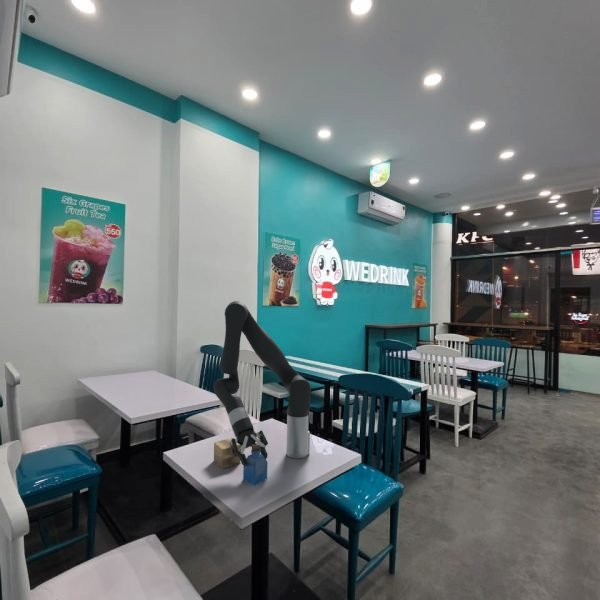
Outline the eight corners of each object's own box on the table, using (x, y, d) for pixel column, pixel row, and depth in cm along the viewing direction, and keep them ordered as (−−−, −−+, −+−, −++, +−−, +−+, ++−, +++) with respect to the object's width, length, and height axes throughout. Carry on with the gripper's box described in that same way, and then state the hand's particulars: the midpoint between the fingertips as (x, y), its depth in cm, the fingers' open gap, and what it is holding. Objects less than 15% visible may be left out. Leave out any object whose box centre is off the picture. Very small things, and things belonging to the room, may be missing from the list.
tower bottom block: (231, 456, 142) (232, 447, 142) (240, 464, 136) (240, 454, 136) (213, 461, 137) (214, 451, 138) (221, 469, 131) (221, 459, 131)
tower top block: (232, 447, 142) (232, 437, 142) (240, 454, 136) (240, 444, 136) (213, 452, 137) (214, 442, 137) (221, 459, 131) (221, 449, 131)
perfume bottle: (255, 473, 128) (256, 441, 128) (267, 478, 124) (267, 446, 124) (243, 479, 123) (243, 446, 124) (254, 485, 120) (255, 451, 120)
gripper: (228, 420, 126) (243, 463, 117) (259, 413, 135) (276, 451, 126) (220, 430, 129) (235, 472, 121) (251, 422, 139) (267, 460, 130)
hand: (256, 461), depth 124 cm, fingers open, 8 cm apart
